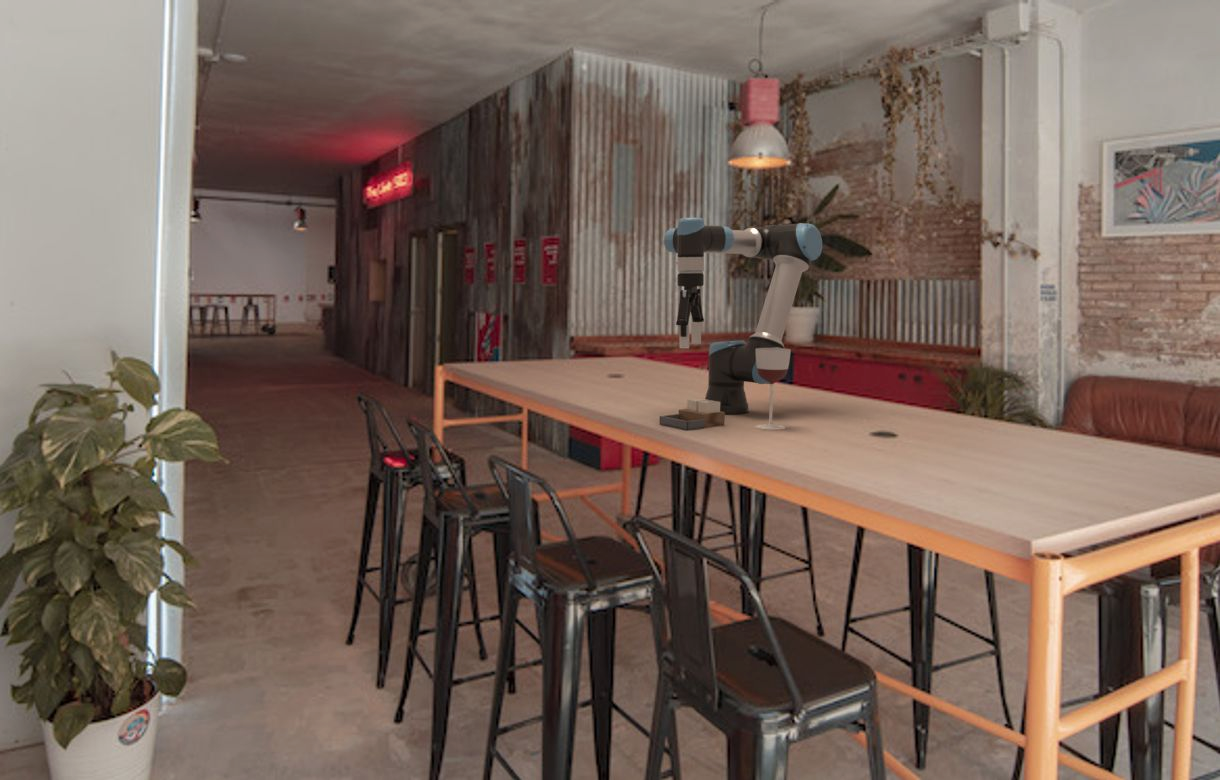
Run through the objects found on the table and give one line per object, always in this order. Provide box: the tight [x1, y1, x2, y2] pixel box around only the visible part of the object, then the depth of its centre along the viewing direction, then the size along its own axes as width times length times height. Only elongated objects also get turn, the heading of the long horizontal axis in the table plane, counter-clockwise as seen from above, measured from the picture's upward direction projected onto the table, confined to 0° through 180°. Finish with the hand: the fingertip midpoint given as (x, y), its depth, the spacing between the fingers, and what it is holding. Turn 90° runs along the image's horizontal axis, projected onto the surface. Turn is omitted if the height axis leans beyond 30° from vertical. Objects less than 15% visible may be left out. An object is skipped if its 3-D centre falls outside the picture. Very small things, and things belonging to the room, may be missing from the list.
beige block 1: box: [686, 398, 709, 411], centre depth 254 cm, size 5×4×3 cm
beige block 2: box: [698, 400, 720, 413], centre depth 250 cm, size 5×4×3 cm
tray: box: [659, 413, 706, 431], centre depth 248 cm, size 7×12×3 cm, turn 37°
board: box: [678, 408, 726, 429], centre depth 252 cm, size 8×11×4 cm
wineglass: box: [755, 347, 792, 430], centre depth 247 cm, size 9×10×23 cm
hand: (690, 346), depth 246 cm, fingers open, 13 cm apart
